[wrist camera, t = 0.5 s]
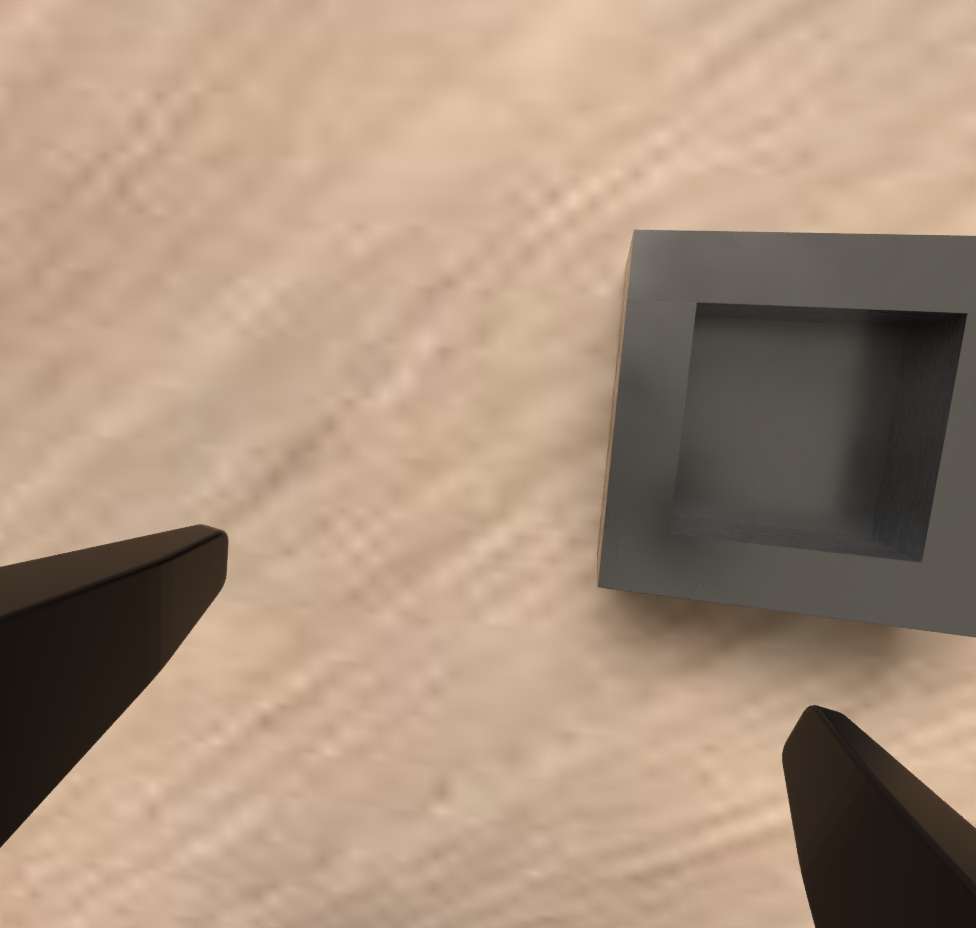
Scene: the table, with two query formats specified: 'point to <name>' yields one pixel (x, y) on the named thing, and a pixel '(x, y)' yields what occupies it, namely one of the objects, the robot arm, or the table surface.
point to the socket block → (797, 426)
